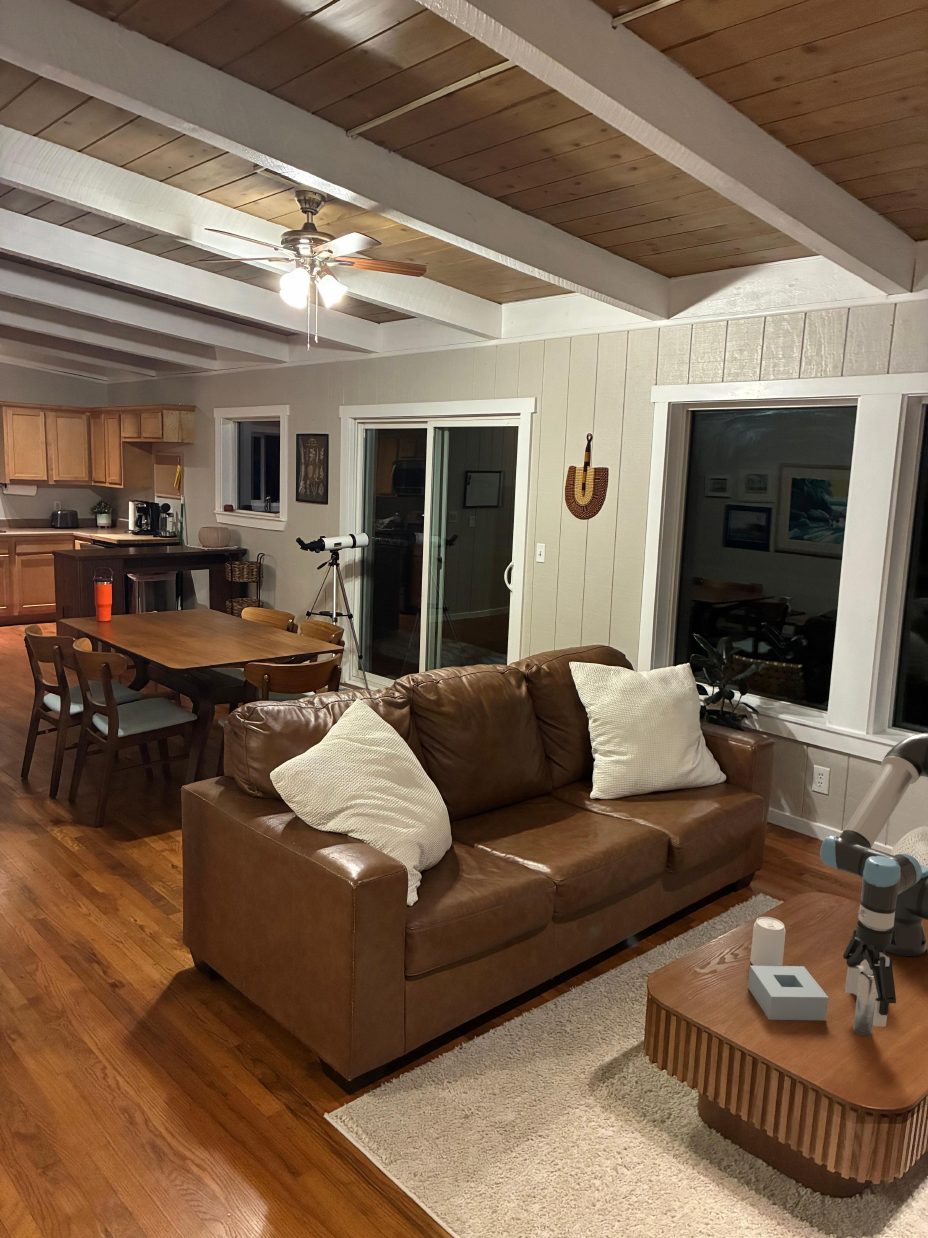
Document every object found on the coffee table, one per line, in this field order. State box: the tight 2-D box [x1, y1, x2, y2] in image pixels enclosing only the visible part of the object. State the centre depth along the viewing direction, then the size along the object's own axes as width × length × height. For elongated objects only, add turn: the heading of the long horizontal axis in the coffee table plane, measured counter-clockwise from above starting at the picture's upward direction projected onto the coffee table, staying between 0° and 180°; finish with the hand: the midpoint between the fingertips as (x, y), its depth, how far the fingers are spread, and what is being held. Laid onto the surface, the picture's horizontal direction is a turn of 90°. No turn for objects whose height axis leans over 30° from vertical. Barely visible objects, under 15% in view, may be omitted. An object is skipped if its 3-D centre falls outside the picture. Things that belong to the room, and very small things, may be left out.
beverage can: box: [749, 916, 787, 966], centre depth 242 cm, size 8×8×12 cm
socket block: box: [747, 965, 829, 1021], centre depth 224 cm, size 14×14×6 cm
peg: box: [852, 971, 877, 1037], centre depth 214 cm, size 4×4×14 cm
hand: (864, 1008), depth 214 cm, fingers open, 13 cm apart
